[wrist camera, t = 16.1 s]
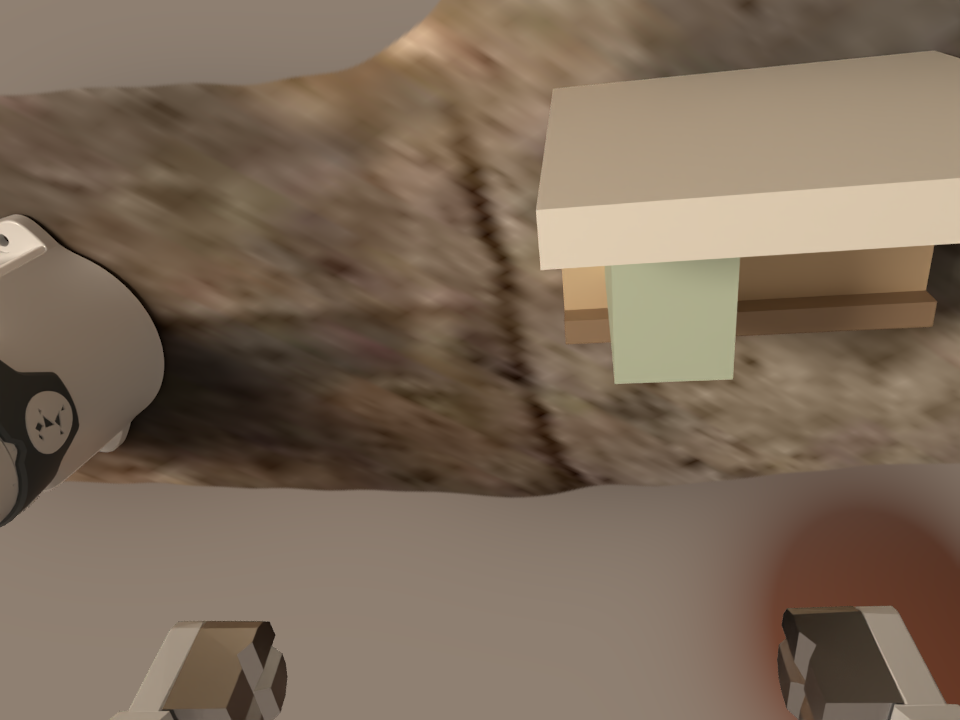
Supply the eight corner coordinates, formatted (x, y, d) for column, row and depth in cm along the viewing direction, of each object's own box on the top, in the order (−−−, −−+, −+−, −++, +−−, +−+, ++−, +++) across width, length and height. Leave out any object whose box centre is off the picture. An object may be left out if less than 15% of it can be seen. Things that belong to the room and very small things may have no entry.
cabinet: (605, 294, 44) (615, 404, 33) (600, 155, 40) (610, 232, 29) (693, 289, 43) (731, 400, 33) (697, 147, 39) (741, 222, 29)
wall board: (566, 304, 49) (562, 539, 30) (553, 88, 42) (536, 209, 23) (894, 286, 46) (1125, 534, 27) (934, 50, 39) (1275, 153, 20)
